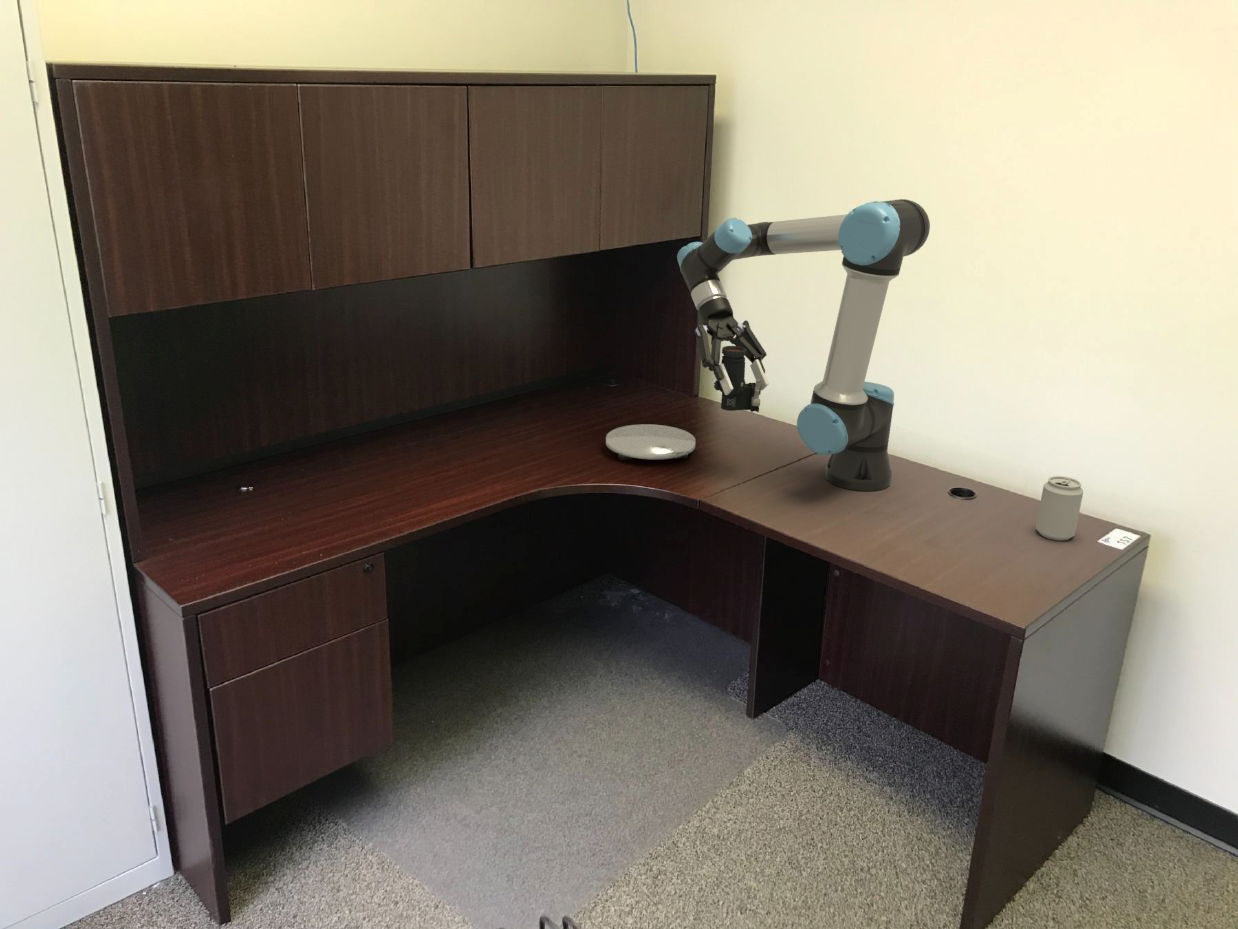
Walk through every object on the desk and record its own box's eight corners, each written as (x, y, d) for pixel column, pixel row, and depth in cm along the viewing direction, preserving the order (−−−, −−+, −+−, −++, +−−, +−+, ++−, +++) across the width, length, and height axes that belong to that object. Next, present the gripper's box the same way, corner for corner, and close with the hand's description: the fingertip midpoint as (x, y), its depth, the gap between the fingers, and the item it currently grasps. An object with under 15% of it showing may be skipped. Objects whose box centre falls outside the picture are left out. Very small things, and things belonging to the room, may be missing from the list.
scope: (765, 353, 222) (720, 353, 221) (759, 413, 227) (715, 413, 226) (757, 344, 229) (714, 343, 228) (752, 403, 234) (709, 402, 233)
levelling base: (713, 455, 248) (714, 442, 247) (644, 473, 235) (644, 459, 234) (655, 431, 264) (655, 419, 263) (587, 447, 251) (588, 434, 250)
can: (1028, 533, 209) (1038, 479, 205) (1044, 524, 214) (1054, 471, 210) (1064, 545, 204) (1075, 490, 200) (1080, 535, 209) (1091, 481, 205)
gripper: (743, 310, 241) (777, 392, 234) (665, 317, 232) (699, 403, 224) (758, 292, 235) (794, 376, 228) (679, 298, 225) (713, 386, 218)
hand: (747, 389), depth 226 cm, fingers closed on scope, 9 cm apart
